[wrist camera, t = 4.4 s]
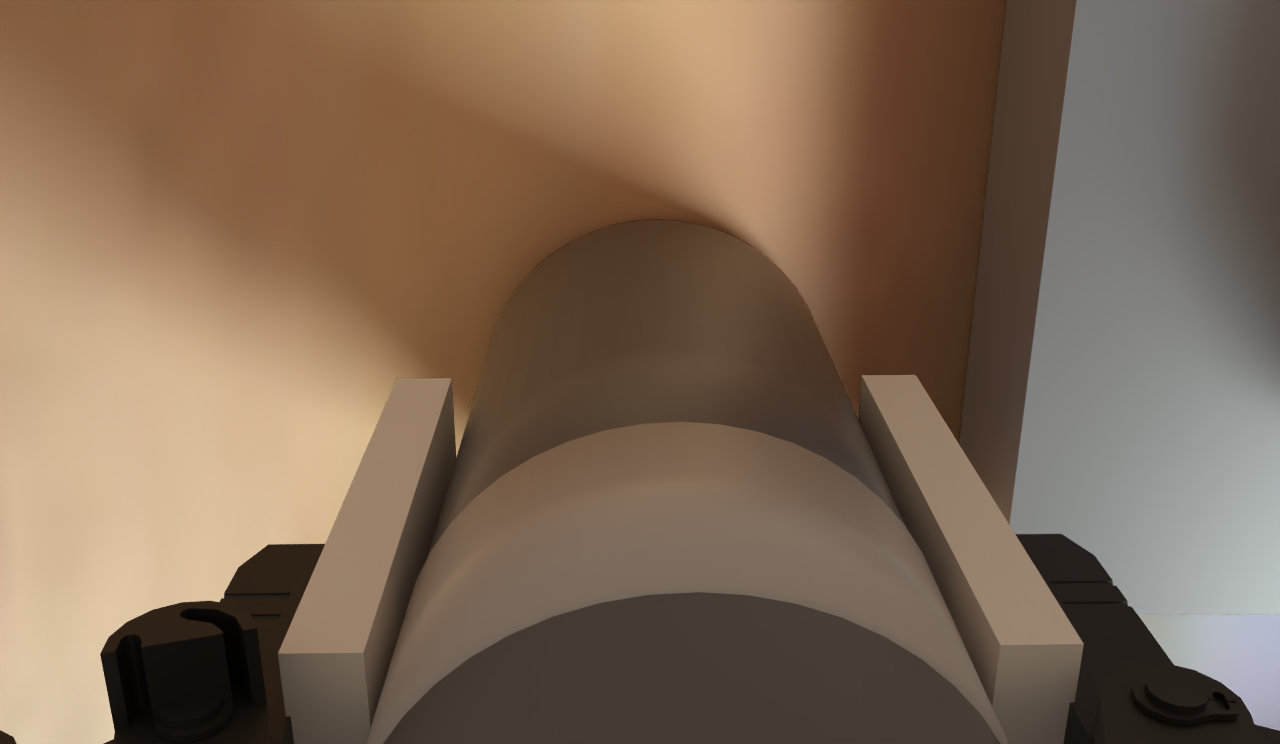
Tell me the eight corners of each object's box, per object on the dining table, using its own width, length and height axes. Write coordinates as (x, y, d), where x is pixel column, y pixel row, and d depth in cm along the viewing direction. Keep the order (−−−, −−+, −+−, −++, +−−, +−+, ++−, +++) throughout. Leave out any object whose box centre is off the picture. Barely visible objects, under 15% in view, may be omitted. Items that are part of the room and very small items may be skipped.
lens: (488, 536, 21) (258, 1636, 8) (477, 214, 19) (135, 965, 6) (816, 537, 21) (1140, 1626, 8) (840, 218, 19) (1332, 962, 6)
